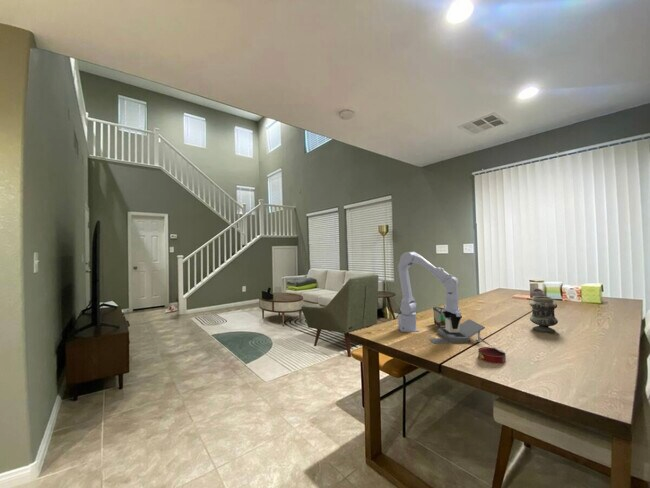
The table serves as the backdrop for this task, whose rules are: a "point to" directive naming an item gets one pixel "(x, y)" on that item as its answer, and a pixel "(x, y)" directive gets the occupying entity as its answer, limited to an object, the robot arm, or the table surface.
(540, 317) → the dark ornate urn
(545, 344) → the table surface
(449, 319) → the module
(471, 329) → the case
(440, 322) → the food container
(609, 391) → the table surface
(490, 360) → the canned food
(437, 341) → the pad
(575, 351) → the table surface
